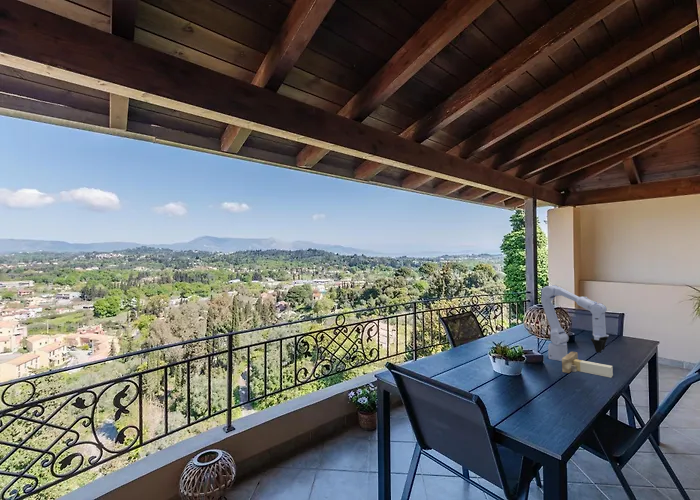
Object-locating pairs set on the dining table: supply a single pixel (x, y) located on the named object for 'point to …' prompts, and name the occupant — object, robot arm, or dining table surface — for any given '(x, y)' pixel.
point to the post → (569, 362)
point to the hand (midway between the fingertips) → (600, 350)
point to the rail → (594, 368)
